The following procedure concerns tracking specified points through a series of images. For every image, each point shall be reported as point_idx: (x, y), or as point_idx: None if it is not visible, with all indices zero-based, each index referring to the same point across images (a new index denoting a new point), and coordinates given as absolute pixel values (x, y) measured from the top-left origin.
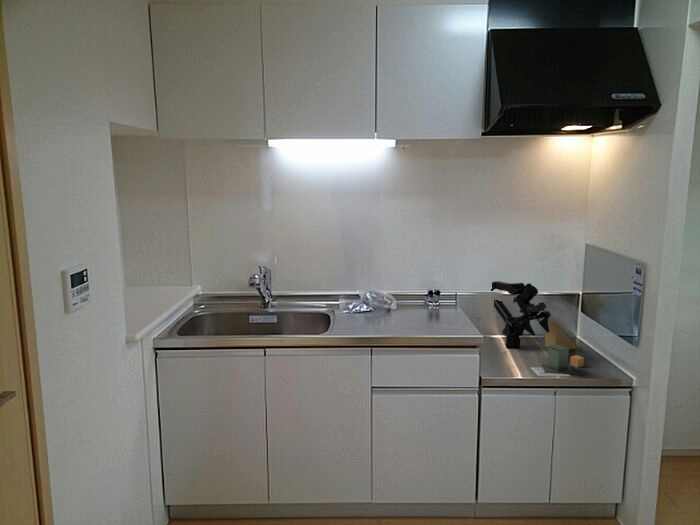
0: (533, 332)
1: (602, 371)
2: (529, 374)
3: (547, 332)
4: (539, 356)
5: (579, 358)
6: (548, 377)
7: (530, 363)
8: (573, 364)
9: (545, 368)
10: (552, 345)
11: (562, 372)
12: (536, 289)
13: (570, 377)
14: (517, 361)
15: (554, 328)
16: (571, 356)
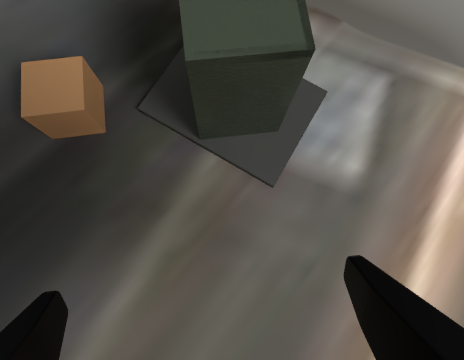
0: (383, 274)
1: (31, 3)
2: (421, 104)
3: (67, 312)
4: (176, 318)
5: (61, 62)
6: (349, 42)
7: (318, 232)
8: (101, 106)
9: (297, 122)
10: (260, 52)
11: None
12: None
13: None
14: None
15: None
16: (79, 106)
